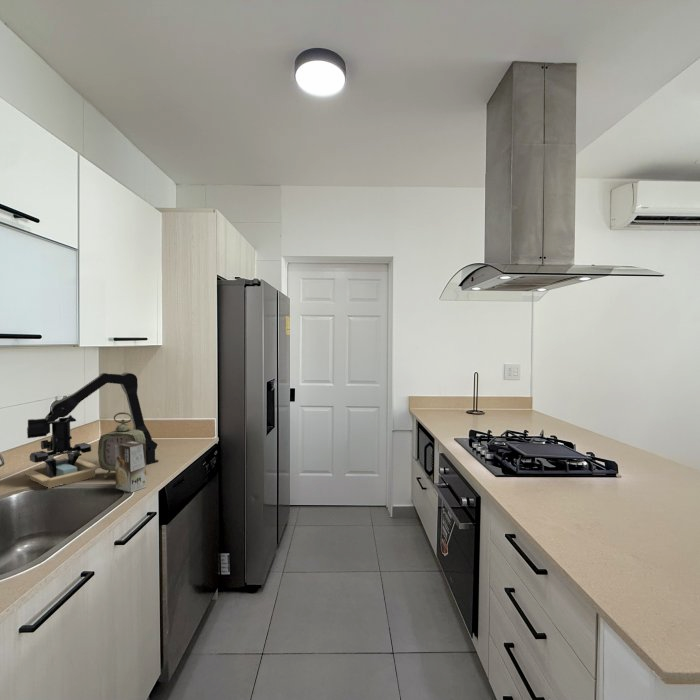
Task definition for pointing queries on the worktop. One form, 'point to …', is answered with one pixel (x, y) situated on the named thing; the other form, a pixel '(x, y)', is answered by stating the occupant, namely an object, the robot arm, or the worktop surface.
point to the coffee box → (130, 465)
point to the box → (61, 468)
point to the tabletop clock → (110, 439)
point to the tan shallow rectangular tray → (83, 473)
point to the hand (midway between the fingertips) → (62, 474)
